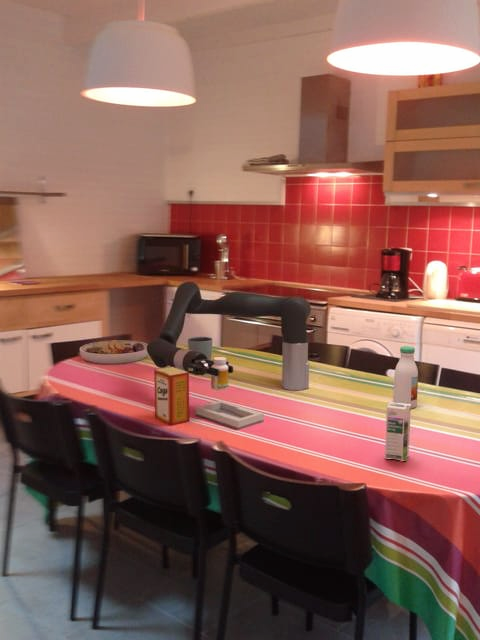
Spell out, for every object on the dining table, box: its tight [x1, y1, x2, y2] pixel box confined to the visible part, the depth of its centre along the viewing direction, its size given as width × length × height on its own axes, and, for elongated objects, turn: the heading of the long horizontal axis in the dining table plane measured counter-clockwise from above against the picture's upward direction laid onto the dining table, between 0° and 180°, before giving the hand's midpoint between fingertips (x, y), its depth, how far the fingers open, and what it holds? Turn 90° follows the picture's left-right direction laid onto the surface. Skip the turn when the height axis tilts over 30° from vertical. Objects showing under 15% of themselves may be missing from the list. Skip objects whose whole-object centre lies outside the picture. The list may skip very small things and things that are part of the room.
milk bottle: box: [392, 345, 419, 409], centre depth 223 cm, size 8×8×20 cm
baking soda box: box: [153, 366, 190, 427], centre depth 208 cm, size 10×6×16 cm
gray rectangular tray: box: [195, 400, 264, 430], centre depth 211 cm, size 19×11×3 cm, turn 44°
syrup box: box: [384, 401, 412, 462], centre depth 178 cm, size 6×6×14 cm
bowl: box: [79, 339, 149, 365], centre depth 294 cm, size 30×30×8 cm
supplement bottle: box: [210, 356, 229, 391], centre depth 212 cm, size 5×5×10 cm
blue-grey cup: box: [187, 336, 213, 359], centre depth 276 cm, size 10×10×12 cm
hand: (225, 371), depth 210 cm, fingers closed on supplement bottle, 5 cm apart
